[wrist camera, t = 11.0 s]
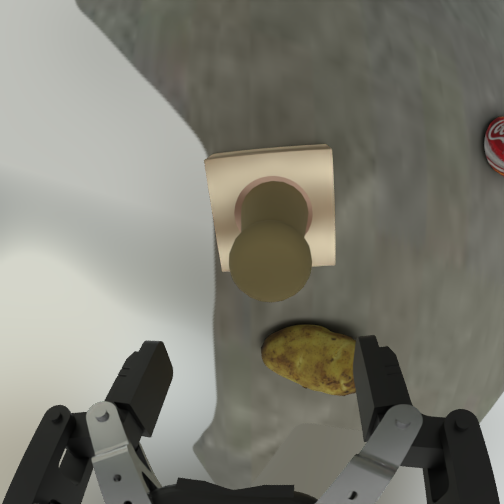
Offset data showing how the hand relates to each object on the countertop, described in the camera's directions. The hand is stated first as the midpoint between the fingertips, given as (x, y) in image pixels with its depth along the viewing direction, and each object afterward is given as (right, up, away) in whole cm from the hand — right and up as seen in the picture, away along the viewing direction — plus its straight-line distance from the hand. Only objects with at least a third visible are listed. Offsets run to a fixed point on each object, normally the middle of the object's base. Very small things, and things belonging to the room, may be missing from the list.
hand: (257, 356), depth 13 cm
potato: (+8, -7, +27) cm, 29 cm away
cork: (+2, +8, +16) cm, 18 cm away
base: (+2, +9, +19) cm, 22 cm away
